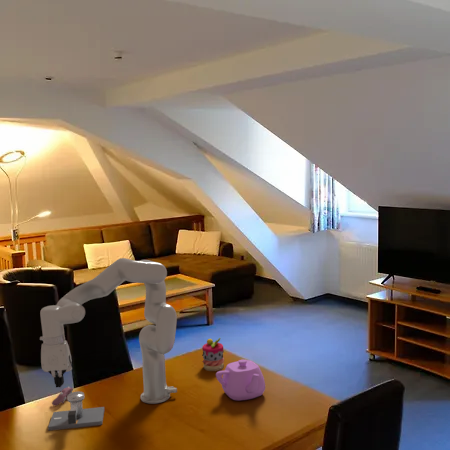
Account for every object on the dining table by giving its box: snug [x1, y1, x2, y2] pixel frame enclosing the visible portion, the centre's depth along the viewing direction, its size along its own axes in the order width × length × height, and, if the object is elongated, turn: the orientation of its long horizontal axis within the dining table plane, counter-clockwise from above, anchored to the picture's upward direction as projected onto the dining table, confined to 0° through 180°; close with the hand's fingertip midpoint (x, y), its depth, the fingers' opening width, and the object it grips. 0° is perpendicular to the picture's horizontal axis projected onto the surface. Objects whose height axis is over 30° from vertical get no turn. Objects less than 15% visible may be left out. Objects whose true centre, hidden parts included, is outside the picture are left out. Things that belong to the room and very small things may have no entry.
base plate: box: [47, 406, 105, 431], centre depth 200 cm, size 20×12×2 cm, turn 99°
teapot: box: [215, 358, 266, 401], centre depth 214 cm, size 23×21×15 cm
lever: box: [66, 391, 85, 424], centre depth 195 cm, size 17×6×9 cm, turn 10°
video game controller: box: [51, 385, 74, 407], centre depth 217 cm, size 10×5×7 cm, turn 169°
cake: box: [201, 337, 225, 372], centre depth 248 cm, size 10×10×15 cm
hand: (59, 385), depth 190 cm, fingers closed
